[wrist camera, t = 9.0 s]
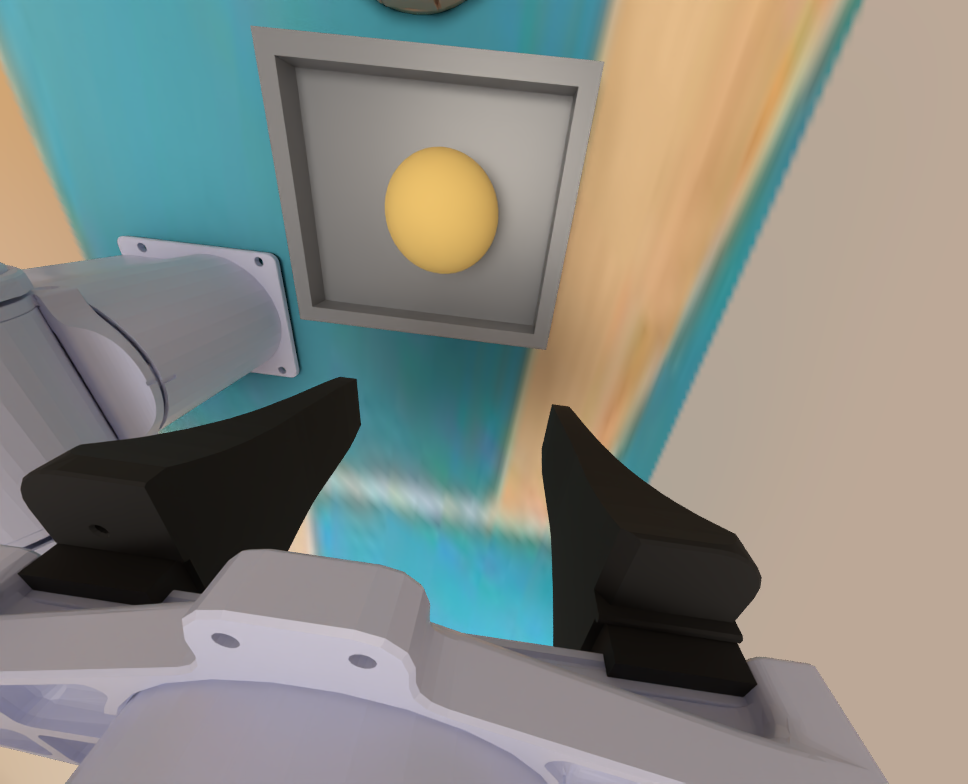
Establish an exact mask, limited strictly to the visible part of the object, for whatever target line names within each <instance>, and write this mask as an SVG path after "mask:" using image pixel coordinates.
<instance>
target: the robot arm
mask: <svg viewBox="0 0 968 784" xmlns="http://www.w3.org/2000/svg"><path fill="white" fill-rule="evenodd" d="M117 242H118V246H119V248H120V251H121V253H122V255H120V256H113V257H106V258H99V259H92V260H85V261H78V262H71V263H64V264H58V265H50V266H43V267H36V268H29V269H22V270H21V269H19V268H16V267H13V266H8V265H5V264H3V263H1V262H0V746H1V747H5V748H9V749H13V750H17V751H22V752H26V753H30V754H34V755H38V756H43V757H47V758H50V759H55V760H59V761H63V762H67V763H71V764H75V765H79V766H78V768H77V769H76V770H75V771H74V773H73V774H72V775H71V777H70V778H69V779H68V780H67V782H66V783H65V784H889V783H888V781H887V779H886V778H885V776H884V775H883V773H882V772H881V770H880V769H879V767H878V765H877V764H876V762H875V761H874V759H873V757H872V756H871V754H870V753H869V751H868V750H867V748H866V746H865V745H864V743H863V742H862V740H861V739H860V737H859V735H858V734H857V732H856V731H855V729H854V727H853V726H852V724H851V723H850V721H849V719H848V718H847V716H846V715H845V713H844V712H843V710H842V708H841V707H840V705H839V704H838V702H837V701H836V699H835V697H834V696H833V694H832V693H831V691H830V689H829V688H828V686H827V685H826V683H825V682H824V680H823V678H822V677H821V676H820V674H819V672H818V671H817V669H816V667H815V666H813V665H811V664H807V663H801V662H794V661H788V660H780V659H774V658H767V657H755V658H750V659H748V660H745V658H744V656H743V654H742V652H741V650H740V648H739V646H738V644H737V643H741V642H742V641H743V636H742V634H741V632H740V630H739V628H738V626H737V624H736V622H735V620H736V619H737V618H738V617H739V615H740V614H741V613H742V612H743V611H744V609H745V608H746V607H747V606H748V605H749V604H750V602H751V601H752V600H753V599H754V597H755V596H756V594H757V592H758V591H759V589H760V585H761V575H760V572H759V570H758V568H757V566H756V564H755V563H754V561H753V560H752V558H751V557H750V555H749V554H748V552H747V551H746V549H745V548H744V546H743V544H742V543H741V542H740V540H739V538H738V537H737V536H736V534H734V533H732V532H730V531H728V530H726V529H724V528H722V527H720V526H718V525H716V524H714V523H712V522H710V521H708V520H706V519H704V518H702V517H700V516H698V515H697V514H695V513H693V512H691V511H690V510H688V509H686V508H685V507H683V506H681V505H679V504H678V503H676V502H674V501H673V500H671V499H670V498H668V497H666V496H665V495H663V494H662V493H660V492H659V491H657V490H656V489H654V488H653V487H652V486H650V485H649V484H647V483H646V482H645V481H643V480H642V479H641V478H639V477H638V476H637V475H635V474H634V473H633V472H632V471H630V470H629V469H628V468H627V467H626V466H624V465H623V464H622V463H621V462H620V461H619V460H618V459H616V458H615V457H614V456H613V455H612V454H611V453H610V452H609V451H608V450H607V449H606V448H605V447H604V446H603V445H602V444H601V443H600V442H599V441H598V440H597V439H596V437H595V436H594V435H593V434H592V433H591V432H590V431H589V430H588V428H587V427H586V426H585V425H584V424H583V423H582V421H581V420H580V419H579V418H578V417H577V415H576V414H575V413H574V412H573V411H572V409H571V408H570V407H568V406H561V405H553V404H552V407H551V411H550V416H549V420H548V424H547V429H546V433H545V437H544V442H543V446H542V476H543V483H544V490H545V497H546V503H547V510H548V517H549V523H550V532H551V548H552V576H553V646H546V645H539V644H532V643H526V642H519V641H512V640H506V639H499V638H492V637H486V636H479V635H472V634H465V633H461V632H458V631H455V630H452V629H449V628H446V627H444V626H441V625H438V624H435V623H432V622H430V619H429V618H430V603H429V600H428V598H427V595H426V593H425V590H424V588H423V587H422V586H421V584H419V583H418V582H417V581H415V580H414V579H413V578H411V577H410V576H409V575H407V574H406V573H405V572H403V571H399V570H396V569H393V568H390V567H386V566H383V565H379V564H372V563H365V562H358V561H351V560H344V559H337V558H330V557H323V556H316V555H309V554H302V553H296V552H289V551H288V550H289V548H290V546H291V544H292V542H293V540H294V538H295V536H296V534H297V532H298V530H299V528H300V526H301V524H302V522H303V520H304V519H305V517H306V515H307V513H308V511H309V509H310V507H311V505H312V504H313V502H314V500H315V499H316V497H317V496H318V494H319V492H320V491H321V490H322V488H323V487H324V485H325V484H326V482H327V481H328V479H329V478H330V476H331V475H332V473H333V472H334V471H335V469H336V468H337V466H338V465H339V463H340V462H341V460H342V459H343V457H344V456H345V454H346V453H347V451H348V450H349V448H350V447H351V445H352V443H353V441H354V439H355V437H356V434H357V432H358V430H359V428H360V426H361V421H360V410H359V400H358V390H357V379H352V378H345V377H338V378H335V379H332V380H330V381H327V382H325V383H322V384H320V385H318V386H315V387H313V388H311V389H308V390H306V391H304V392H301V393H299V394H297V395H294V396H292V397H290V398H287V399H284V400H282V401H279V402H277V403H274V404H272V405H269V406H266V407H264V408H261V409H258V410H255V411H252V412H249V413H246V414H243V415H240V416H236V417H233V418H230V419H226V420H222V421H218V422H214V423H210V424H206V425H202V426H197V427H193V428H189V429H184V430H179V431H174V432H169V433H163V434H158V431H159V430H161V429H163V428H164V427H166V426H167V425H169V424H170V423H172V422H173V421H175V420H177V419H178V418H180V417H181V416H183V415H184V414H186V413H187V412H189V411H190V410H192V409H194V408H195V407H197V406H198V405H200V404H201V403H203V402H204V401H206V400H207V399H209V398H211V397H212V396H214V395H215V394H217V393H218V392H220V391H221V390H223V389H225V388H226V387H228V386H229V385H231V384H232V383H234V382H235V381H237V380H238V379H240V378H242V377H243V376H245V375H246V374H248V373H249V372H253V373H261V374H269V375H276V376H284V377H295V376H296V375H298V374H299V366H298V360H297V355H296V349H295V344H294V339H293V333H292V328H291V323H290V317H289V312H288V307H287V301H286V296H285V290H284V285H283V280H282V274H281V269H280V264H279V260H278V259H277V257H276V256H275V255H273V254H271V253H267V252H258V251H250V250H242V249H234V248H225V247H217V246H209V245H200V244H192V243H184V242H175V241H167V240H159V239H150V238H142V237H134V236H121V237H119V238H118V241H117ZM144 245H145V247H146V248H147V250H146V249H145V247H144ZM259 258H261V259H262V260H263V265H262V264H261V263H260V262H259ZM282 367H283V368H285V370H286V371H284V370H283V369H282Z"/></svg>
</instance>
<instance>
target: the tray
mask: <svg viewBox="0 0 968 784" xmlns="http://www.w3.org/2000/svg"><path fill="white" fill-rule="evenodd" d="M251 31H252V37H253V43H254V49H255V55H256V61H257V66H258V72H259V78H260V84H261V90H262V96H263V102H264V108H265V113H266V119H267V125H268V131H269V137H270V143H271V149H272V154H273V160H274V166H275V172H276V178H277V184H278V190H279V196H280V201H281V207H282V213H283V219H284V225H285V231H286V237H287V243H288V248H289V254H290V260H291V266H292V272H293V278H294V284H295V289H296V295H297V301H298V307H299V313H300V319H304V320H312V321H320V322H328V323H336V324H344V325H352V326H360V327H368V328H376V329H384V330H392V331H400V332H408V333H416V334H424V335H432V336H440V337H448V338H456V339H464V340H472V341H480V342H488V343H496V344H504V345H512V346H520V347H528V348H536V349H544V350H546V347H547V342H548V338H549V333H550V328H551V323H552V318H553V313H554V308H555V303H556V298H557V293H558V288H559V283H560V278H561V273H562V268H563V263H564V258H565V253H566V249H567V244H568V239H569V234H570V229H571V224H572V219H573V214H574V209H575V204H576V199H577V194H578V189H579V184H580V179H581V174H582V169H583V164H584V159H585V155H586V150H587V145H588V140H589V135H590V130H591V125H592V120H593V115H594V110H595V105H596V100H597V95H598V90H599V85H600V80H601V75H602V70H603V65H604V62H602V61H592V60H583V59H573V58H563V57H553V56H543V55H533V54H523V53H514V52H504V51H494V50H484V49H474V48H464V47H455V46H445V45H435V44H425V43H415V42H405V41H396V40H386V39H376V38H366V37H356V36H346V35H337V34H327V33H317V32H307V31H297V30H287V29H278V28H268V27H258V26H251ZM430 147H447V148H452V149H455V150H458V151H460V152H462V153H464V154H466V155H467V156H469V157H470V158H472V159H473V160H474V161H475V162H477V163H478V164H479V165H480V166H481V168H482V169H483V170H484V171H485V173H486V174H487V176H488V177H489V179H490V181H491V183H492V185H493V188H494V191H495V193H496V198H497V202H498V225H497V230H496V234H495V237H494V239H493V242H492V244H491V245H490V247H489V249H488V250H487V252H486V253H485V254H484V256H483V257H482V258H481V259H480V260H479V261H478V262H476V263H475V264H474V265H472V266H471V267H469V268H467V269H465V270H463V271H460V272H456V273H450V274H440V273H433V272H430V271H426V270H424V269H422V268H420V267H418V266H416V265H415V264H413V263H412V262H410V261H409V260H408V259H407V258H406V257H405V256H404V255H403V254H402V253H401V252H400V250H399V249H398V248H397V246H396V245H395V243H394V241H393V239H392V237H391V235H390V232H389V230H388V226H387V223H386V217H385V196H386V191H387V187H388V184H389V182H390V179H391V177H392V175H393V173H394V172H395V170H396V169H397V168H398V166H399V165H400V164H401V163H402V162H403V161H404V160H405V159H406V158H408V157H409V156H410V155H411V154H413V153H415V152H417V151H419V150H422V149H425V148H430Z"/></svg>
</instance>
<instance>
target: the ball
mask: <svg viewBox="0 0 968 784" xmlns="http://www.w3.org/2000/svg"><path fill="white" fill-rule="evenodd" d="M385 217H386V223H387V226H388V230H389V232H390V235H391V237H392V239H393V241H394V243H395V245H396V246H397V248H398V249H399V250H400V252H401V253H402V254H403V255H404V256H405V257H406V258H407V259H408V260H409V261H410V262H412V263H413V264H415V265H416V266H418V267H420V268H422V269H424V270H426V271H430V272H433V273H440V274H450V273H456V272H460V271H463V270H465V269H467V268H469V267H471V266H472V265H474V264H475V263H476V262H478V261H479V260H480V259H481V258H482V257H483V256H484V254H485V253H486V252H487V250H488V249H489V247H490V245H491V244H492V242H493V239H494V237H495V234H496V230H497V225H498V202H497V198H496V193H495V191H494V188H493V185H492V183H491V181H490V179H489V177H488V176H487V174H486V173H485V171H484V170H483V169H482V168H481V166H480V165H479V164H478V163H477V162H475V161H474V160H473V159H472V158H470V157H469V156H467V155H466V154H464V153H462V152H460V151H458V150H455V149H452V148H447V147H430V148H425V149H422V150H419V151H417V152H415V153H413V154H411V155H410V156H409V157H408V158H406V159H405V160H404V161H403V162H402V163H401V164H400V165H399V166H398V168H397V169H396V170H395V172H394V173H393V175H392V177H391V179H390V182H389V184H388V187H387V191H386V196H385Z"/></svg>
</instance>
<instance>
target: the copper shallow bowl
mask: <svg viewBox="0 0 968 784" xmlns="http://www.w3.org/2000/svg"><path fill="white" fill-rule="evenodd" d="M377 1H378V2H380V3H383V4H384V5H385V6H388V7H390V8H393V9H396V10H398V11H401V12H406V13H411V14H433V13H439V12H443V11H446V10H448V9H451V8H454V7H456V6H458V5H459V4H461V3H463V2H464V1H466V0H377Z"/></svg>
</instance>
